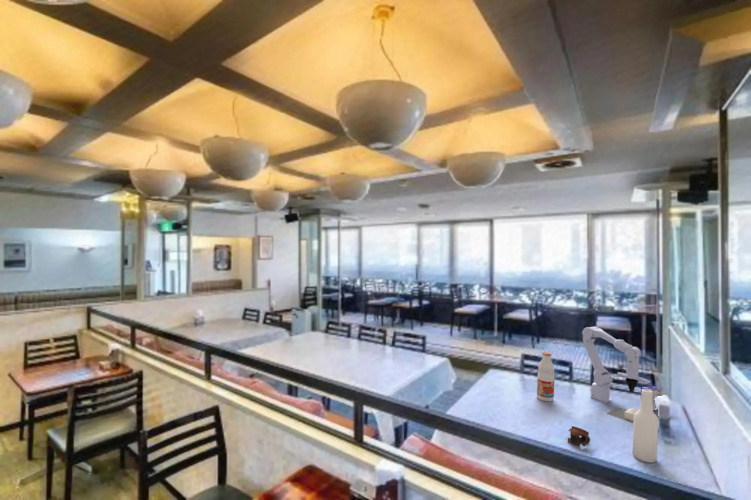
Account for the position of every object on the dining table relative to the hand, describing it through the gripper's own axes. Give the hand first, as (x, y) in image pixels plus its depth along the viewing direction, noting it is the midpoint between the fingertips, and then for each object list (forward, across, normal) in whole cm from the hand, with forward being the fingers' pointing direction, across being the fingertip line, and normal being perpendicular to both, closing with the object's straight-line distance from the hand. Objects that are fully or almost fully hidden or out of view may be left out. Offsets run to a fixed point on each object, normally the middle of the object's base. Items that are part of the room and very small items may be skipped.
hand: (631, 391), depth 218 cm
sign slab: (+8, +3, -12) cm, 15 cm away
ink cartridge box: (+11, +6, +12) cm, 17 cm away
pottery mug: (+11, +2, -65) cm, 66 cm away
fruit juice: (+11, -36, -28) cm, 47 cm away
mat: (+10, +2, -11) cm, 15 cm away
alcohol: (+11, +24, -53) cm, 59 cm away
